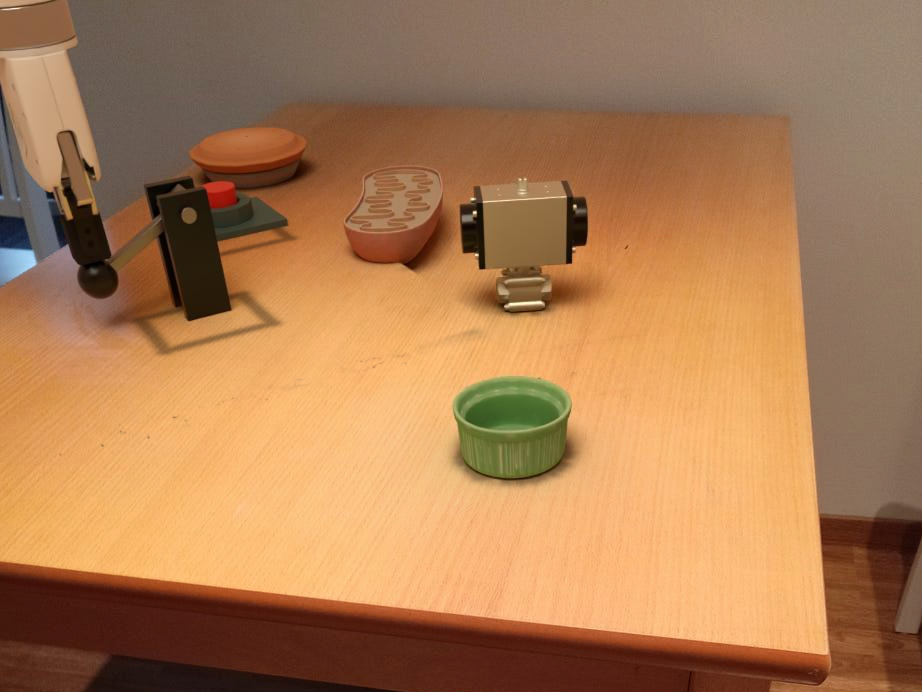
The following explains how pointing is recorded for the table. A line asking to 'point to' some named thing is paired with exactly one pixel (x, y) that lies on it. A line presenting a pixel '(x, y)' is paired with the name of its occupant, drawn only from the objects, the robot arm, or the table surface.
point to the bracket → (189, 248)
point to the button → (221, 194)
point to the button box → (245, 218)
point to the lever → (117, 261)
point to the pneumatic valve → (523, 236)
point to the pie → (250, 156)
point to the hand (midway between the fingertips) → (92, 259)
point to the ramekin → (512, 425)
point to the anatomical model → (395, 213)
